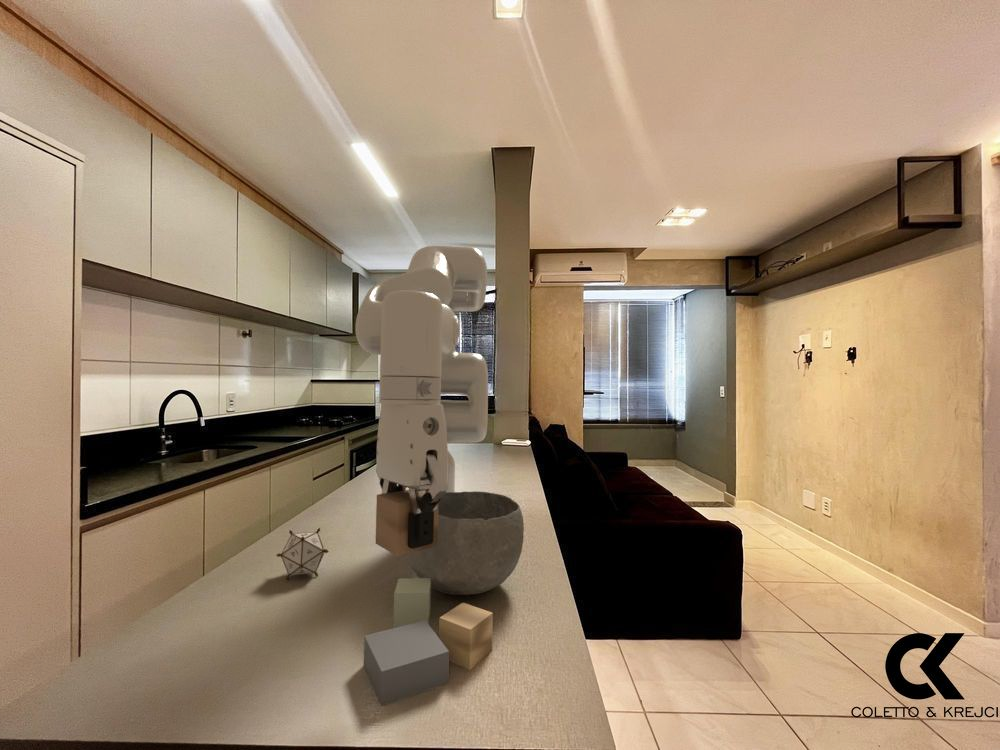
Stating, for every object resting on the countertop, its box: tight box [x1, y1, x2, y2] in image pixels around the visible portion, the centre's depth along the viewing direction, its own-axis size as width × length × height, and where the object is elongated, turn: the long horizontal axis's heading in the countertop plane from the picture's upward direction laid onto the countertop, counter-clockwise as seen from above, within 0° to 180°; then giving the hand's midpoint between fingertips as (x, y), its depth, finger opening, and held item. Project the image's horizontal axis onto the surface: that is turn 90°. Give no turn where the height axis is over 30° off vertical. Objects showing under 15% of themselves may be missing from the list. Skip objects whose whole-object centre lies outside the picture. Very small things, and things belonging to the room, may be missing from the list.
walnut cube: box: [375, 489, 439, 557], centre depth 55 cm, size 6×6×6 cm
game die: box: [275, 527, 329, 581], centre depth 82 cm, size 9×8×10 cm
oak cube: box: [438, 602, 494, 670], centre depth 59 cm, size 5×5×5 cm
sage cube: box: [393, 577, 432, 628], centre depth 67 cm, size 5×5×5 cm
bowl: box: [406, 490, 525, 596], centre depth 78 cm, size 20×20×15 cm
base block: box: [363, 620, 450, 707], centre depth 54 cm, size 8×8×4 cm
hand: (407, 537), depth 55 cm, fingers closed on walnut cube, 5 cm apart
